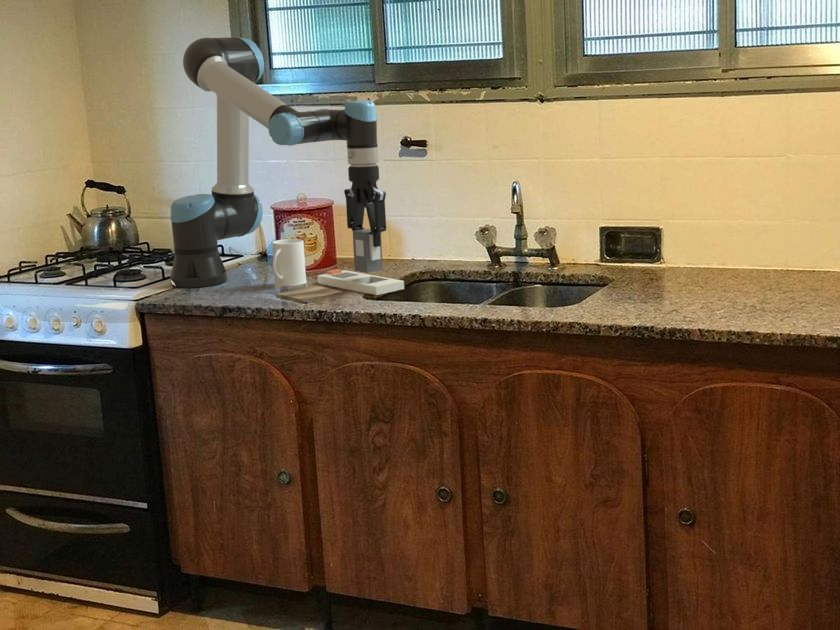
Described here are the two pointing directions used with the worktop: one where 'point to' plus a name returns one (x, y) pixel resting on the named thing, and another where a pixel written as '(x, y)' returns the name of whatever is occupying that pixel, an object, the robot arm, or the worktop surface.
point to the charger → (364, 252)
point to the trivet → (307, 293)
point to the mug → (289, 262)
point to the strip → (360, 282)
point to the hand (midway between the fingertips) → (368, 258)
